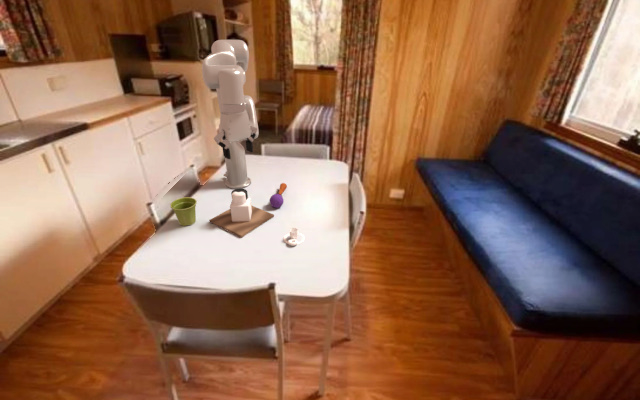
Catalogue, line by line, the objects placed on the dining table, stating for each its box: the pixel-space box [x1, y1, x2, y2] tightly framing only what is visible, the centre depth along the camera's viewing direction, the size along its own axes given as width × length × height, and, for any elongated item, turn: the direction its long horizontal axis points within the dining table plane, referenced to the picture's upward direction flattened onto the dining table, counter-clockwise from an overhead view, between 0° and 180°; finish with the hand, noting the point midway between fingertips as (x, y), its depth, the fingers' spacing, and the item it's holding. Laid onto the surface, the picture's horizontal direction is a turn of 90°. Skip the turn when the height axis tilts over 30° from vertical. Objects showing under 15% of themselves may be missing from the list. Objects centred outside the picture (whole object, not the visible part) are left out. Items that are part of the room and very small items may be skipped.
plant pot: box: [169, 196, 198, 227], centre depth 120 cm, size 9×9×9 cm
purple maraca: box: [269, 182, 288, 209], centre depth 140 cm, size 6×6×20 cm
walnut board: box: [209, 204, 275, 238], centre depth 125 cm, size 18×18×1 cm
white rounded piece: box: [283, 227, 306, 247], centre depth 113 cm, size 9×8×4 cm
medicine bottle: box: [229, 188, 252, 222], centre depth 122 cm, size 7×7×12 cm
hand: (238, 154), depth 114 cm, fingers open, 9 cm apart
